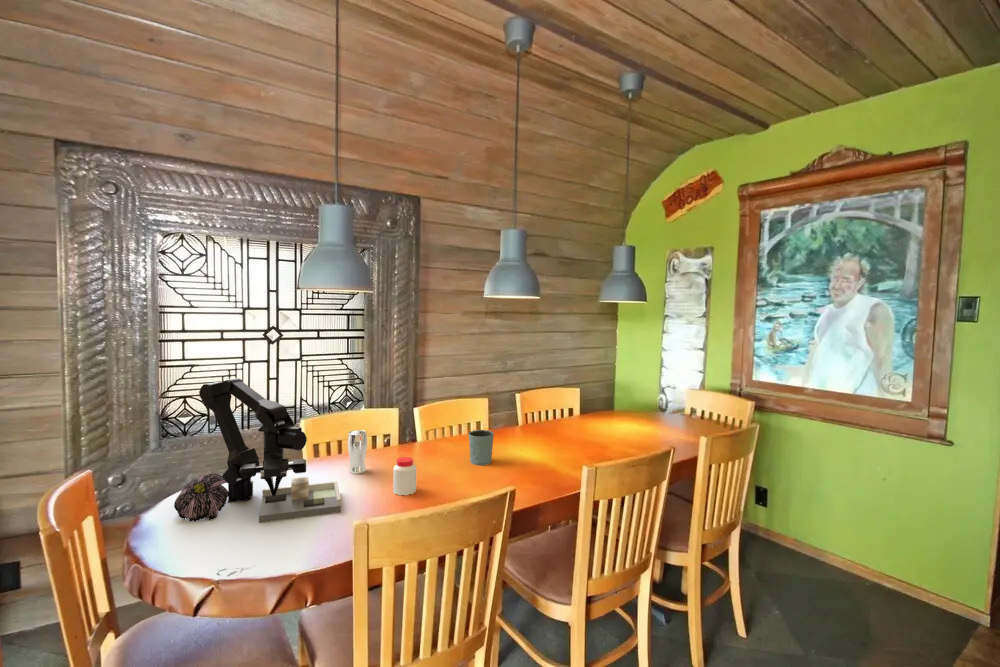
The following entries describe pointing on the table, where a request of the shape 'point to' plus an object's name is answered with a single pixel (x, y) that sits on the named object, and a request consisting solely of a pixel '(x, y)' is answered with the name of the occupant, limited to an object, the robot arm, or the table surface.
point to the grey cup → (481, 446)
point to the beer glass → (357, 451)
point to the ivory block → (299, 488)
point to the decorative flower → (202, 498)
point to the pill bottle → (404, 476)
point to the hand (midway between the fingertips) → (274, 495)
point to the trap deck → (300, 502)
